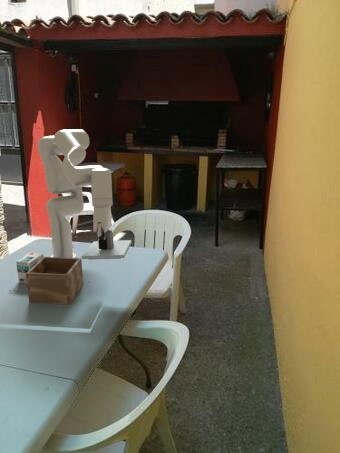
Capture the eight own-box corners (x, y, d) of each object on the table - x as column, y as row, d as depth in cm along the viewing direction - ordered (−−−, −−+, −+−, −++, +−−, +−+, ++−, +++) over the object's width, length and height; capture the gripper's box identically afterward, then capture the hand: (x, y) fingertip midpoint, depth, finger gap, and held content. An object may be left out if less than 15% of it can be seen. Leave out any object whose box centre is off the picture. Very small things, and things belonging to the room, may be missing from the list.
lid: (94, 246, 146) (91, 226, 143) (132, 245, 144) (130, 225, 142) (82, 261, 131) (79, 239, 128) (124, 260, 129) (121, 238, 127)
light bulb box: (32, 286, 148) (29, 262, 144) (18, 284, 149) (15, 261, 145) (46, 275, 158) (43, 253, 154) (32, 273, 159) (29, 251, 155)
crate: (46, 284, 149) (43, 256, 145) (83, 286, 148) (81, 258, 144) (29, 304, 134) (25, 273, 130) (70, 306, 133) (67, 275, 129)
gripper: (98, 196, 139) (100, 239, 145) (85, 206, 124) (88, 254, 129) (116, 196, 139) (118, 239, 145) (106, 207, 123) (108, 255, 129)
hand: (104, 246), depth 137 cm, fingers closed on lid, 4 cm apart
